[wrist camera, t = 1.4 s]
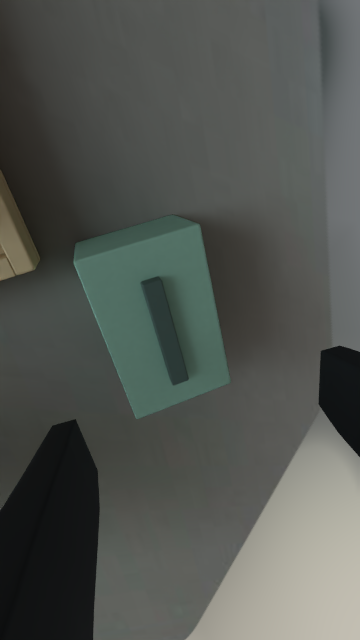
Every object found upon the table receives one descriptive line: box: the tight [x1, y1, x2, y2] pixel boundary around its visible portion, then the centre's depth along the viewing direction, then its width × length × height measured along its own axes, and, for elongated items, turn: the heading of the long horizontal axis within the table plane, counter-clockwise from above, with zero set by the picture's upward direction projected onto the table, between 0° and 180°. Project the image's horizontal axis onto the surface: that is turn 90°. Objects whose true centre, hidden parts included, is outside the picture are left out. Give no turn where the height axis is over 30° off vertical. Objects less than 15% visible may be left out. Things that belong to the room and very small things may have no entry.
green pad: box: [74, 215, 231, 419], centre depth 15 cm, size 5×8×4 cm, turn 13°
